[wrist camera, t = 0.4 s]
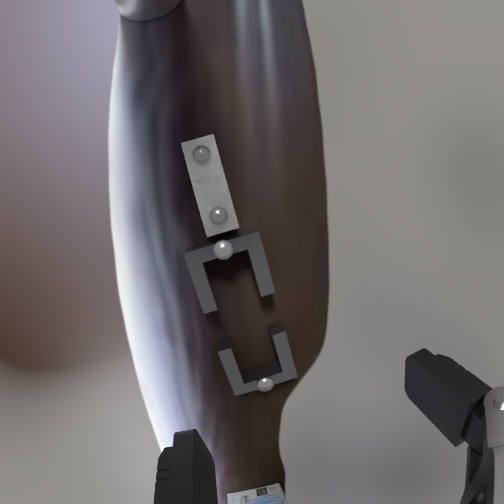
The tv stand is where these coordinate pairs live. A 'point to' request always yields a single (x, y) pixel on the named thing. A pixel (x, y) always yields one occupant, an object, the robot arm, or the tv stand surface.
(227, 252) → the end link
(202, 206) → the bolted link plate
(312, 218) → the tv stand surface
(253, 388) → the end link
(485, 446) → the robot arm
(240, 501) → the light bulb box
